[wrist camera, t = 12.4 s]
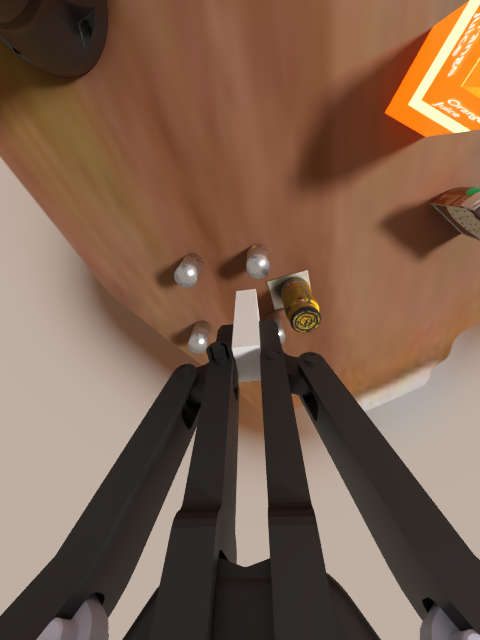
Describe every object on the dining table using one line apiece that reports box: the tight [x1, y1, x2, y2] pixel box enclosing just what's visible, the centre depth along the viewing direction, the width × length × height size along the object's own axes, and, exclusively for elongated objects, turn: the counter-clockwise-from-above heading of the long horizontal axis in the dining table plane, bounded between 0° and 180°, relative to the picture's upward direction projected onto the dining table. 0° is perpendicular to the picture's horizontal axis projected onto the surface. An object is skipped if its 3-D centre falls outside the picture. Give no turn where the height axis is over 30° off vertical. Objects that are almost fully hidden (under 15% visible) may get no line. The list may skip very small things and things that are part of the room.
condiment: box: [267, 270, 321, 333], centre depth 45 cm, size 7×8×12 cm
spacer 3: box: [247, 244, 270, 279], centre depth 43 cm, size 4×4×7 cm
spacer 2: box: [188, 321, 210, 353], centre depth 53 cm, size 4×4×7 cm
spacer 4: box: [264, 313, 285, 344], centre depth 52 cm, size 4×4×7 cm
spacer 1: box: [174, 254, 203, 288], centre depth 44 cm, size 4×4×7 cm
